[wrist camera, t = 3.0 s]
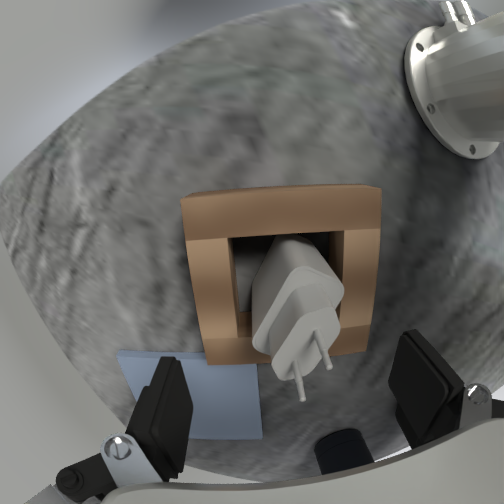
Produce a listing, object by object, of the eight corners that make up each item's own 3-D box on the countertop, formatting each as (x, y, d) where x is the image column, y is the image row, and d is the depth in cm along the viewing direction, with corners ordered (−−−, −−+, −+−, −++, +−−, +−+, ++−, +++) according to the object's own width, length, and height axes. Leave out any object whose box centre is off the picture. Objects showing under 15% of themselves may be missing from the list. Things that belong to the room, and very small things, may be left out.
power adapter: (318, 244, 20) (390, 341, 8) (284, 304, 21) (311, 430, 10) (280, 226, 19) (320, 314, 8) (248, 290, 21) (246, 417, 10)
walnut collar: (192, 193, 19) (180, 199, 15) (360, 184, 18) (381, 188, 15) (212, 338, 22) (207, 365, 19) (352, 327, 22) (365, 350, 19)
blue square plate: (119, 349, 23) (116, 355, 22) (255, 350, 23) (255, 357, 22) (156, 428, 27) (154, 434, 26) (262, 432, 27) (262, 438, 26)
